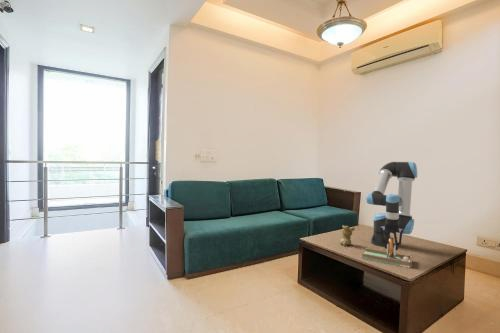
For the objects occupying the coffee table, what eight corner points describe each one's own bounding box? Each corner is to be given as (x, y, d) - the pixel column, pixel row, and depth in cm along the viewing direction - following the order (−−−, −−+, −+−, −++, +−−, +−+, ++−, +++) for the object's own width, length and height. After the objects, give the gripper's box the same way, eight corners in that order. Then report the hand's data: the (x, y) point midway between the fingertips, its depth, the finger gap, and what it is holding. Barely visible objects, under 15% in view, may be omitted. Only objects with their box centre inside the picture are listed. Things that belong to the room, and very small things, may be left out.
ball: (404, 262, 170) (401, 256, 171) (410, 260, 169) (406, 254, 170) (404, 263, 168) (401, 258, 168) (410, 261, 166) (406, 256, 167)
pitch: (365, 252, 188) (365, 247, 187) (412, 261, 172) (412, 255, 172) (362, 258, 177) (362, 252, 176) (411, 268, 161) (411, 262, 161)
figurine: (350, 242, 208) (351, 223, 207) (355, 246, 200) (355, 226, 199) (338, 242, 208) (338, 223, 207) (342, 246, 199) (342, 226, 199)
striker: (387, 256, 177) (388, 236, 176) (395, 257, 174) (396, 237, 174) (386, 258, 172) (387, 238, 171) (395, 260, 169) (395, 240, 169)
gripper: (377, 217, 173) (376, 253, 174) (406, 221, 164) (405, 258, 165) (378, 215, 180) (378, 250, 180) (407, 218, 171) (406, 255, 172)
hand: (391, 254), depth 173 cm, fingers closed on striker, 3 cm apart
